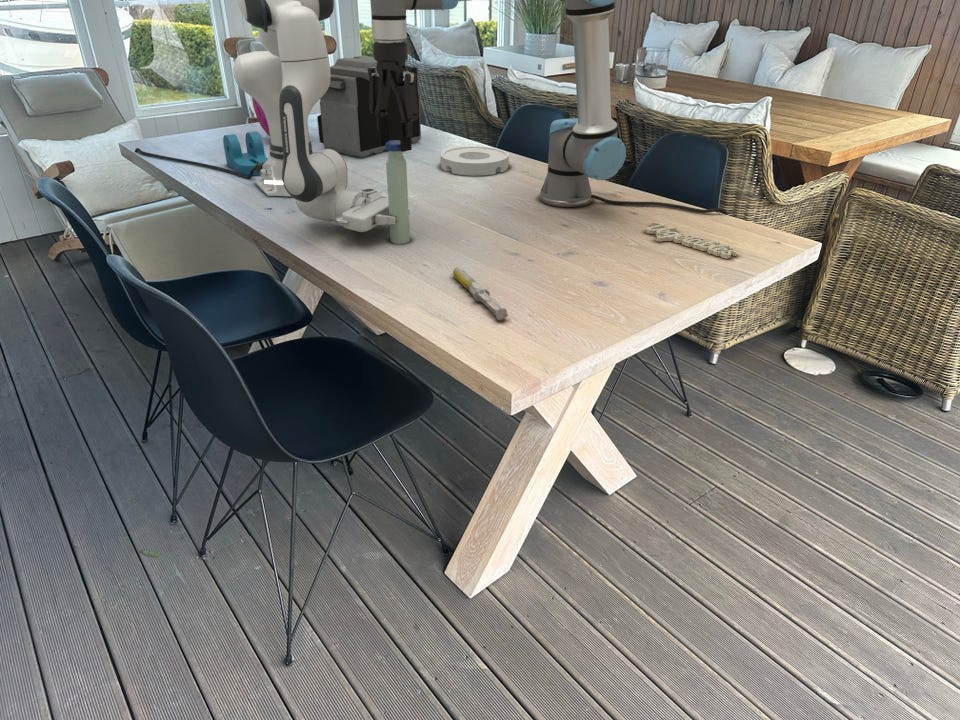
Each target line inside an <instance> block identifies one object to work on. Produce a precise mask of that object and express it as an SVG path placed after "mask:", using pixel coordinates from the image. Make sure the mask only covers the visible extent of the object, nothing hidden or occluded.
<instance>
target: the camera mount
mask: <svg viewBox="0 0 960 720" xmlns="http://www.w3.org/2000/svg"><path fill="white" fill-rule="evenodd" d="M222 140H223V141H222V143H223V149H224V150H223V151H224V156H225V161H226V165H227V166H228V167H230V168H231V169H232V170H233V171H236V172H238V173H240V174H242V175H244V176H249V175H250V172H251V170H252V168H254V167H256V165H255V164H259V163H262V162H266V161H267V159H268V158H269V157H267V156H266V153H265V145H264V141H263V139H262V136H261V134H260V132H258V131H247V132H246V133H245V146H246V152H243V151H242V150H243V149H242V146H241V142H240V140H239V138H238V135H236V134H235V133H231V134H224V135H223V138H222ZM253 176H261V174H260V173H257V172H256V170H255V171H254V172H253Z"/></svg>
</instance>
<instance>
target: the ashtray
mask: <svg viewBox="0 0 960 720" xmlns="http://www.w3.org/2000/svg"><path fill="white" fill-rule="evenodd" d="M509 157H510V154H509V153H508V152H507V151H505V150H503V149H500V148H496V147H489V146H481V145H480V146H479V145H478V146H477V145H472V146H470V145H468V146H467V145H465V146H457V147H451V148H447V149H444V150H443V151H441V152H440V168H441V169H442V170H443V171H444V172H451V174H454V175H460V176H470V177H471V176H472V177H473V176H480V177H481V176H491V175H496V173H503V172H505V171H507V170H508V169H509V162H510V161H509V159H510V158H509Z"/></svg>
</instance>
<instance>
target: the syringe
mask: <svg viewBox="0 0 960 720" xmlns="http://www.w3.org/2000/svg"><path fill="white" fill-rule="evenodd" d="M452 274H453V277H454V279H455V280H457V281H458V282H459V283H460V285H462V287H464V289H466V290H467V291H468V293H470V295H471V296H472V298H473V300H474V302H477V303H478V302H480V303H482V304H483V305H484V306H485V307H486V308H487V309H488V310H489V311H490V312H491V313H492V314H493V315H494V316H495V317H496V320H497V321H503V320H504V319H506V318H507V317H509V314H508V310H507V308H506V307H502V306H501V305H500V303H498V302H497V301H496V300H494V299H493V298H492V297H491V296H490V295H491V293H490V290H488V289H486V288H483V287H482V286H481V285H480V284H479V283H478V282H477V281H476V280H474V278H473V277H471V275H469V274H468V273H467V272H466V270H465V269H464V268H463V267H462V266H456V267H454V268H453V271H452Z"/></svg>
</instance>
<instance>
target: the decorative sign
mask: <svg viewBox="0 0 960 720" xmlns="http://www.w3.org/2000/svg"><path fill="white" fill-rule="evenodd" d="M650 225H651V226H647V227H646V229H645V233H646V234H650V235H655V236H656V239H655V242H667V241H668V242H673V243H676V244H681V245H682V246H686V247H689V248H690V247H691V248H692V249H695V250H699V251H701V252H707V254H710V255H713V256H715V257H720V258H722V259H731V256H733V257H736V256H737V253H738V252H737V251H736V250H735V249H730V247H731V246H730V244H725V243H724V244H723V243H722V244H720V243H721V242H720V241H718V240H716V241H715V240H714V241H713V240H711V241H705V240H704V238H703V237H701V236H697V235H696V236H695V235H693V234H688V235H686V234H683V233H678V232H677V227H675V226H667V227H665V223H662V222H655V221H651V224H650Z"/></svg>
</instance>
